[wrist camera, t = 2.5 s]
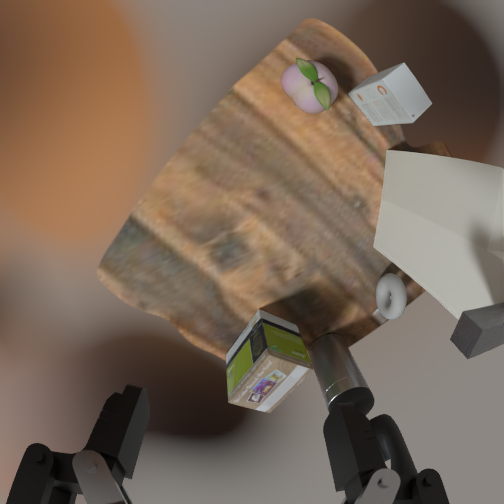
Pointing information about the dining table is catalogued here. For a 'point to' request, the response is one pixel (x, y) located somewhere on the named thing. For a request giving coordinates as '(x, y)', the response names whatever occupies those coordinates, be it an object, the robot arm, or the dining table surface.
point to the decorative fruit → (310, 85)
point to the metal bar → (479, 330)
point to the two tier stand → (445, 227)
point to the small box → (391, 97)
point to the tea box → (266, 363)
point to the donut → (398, 296)
